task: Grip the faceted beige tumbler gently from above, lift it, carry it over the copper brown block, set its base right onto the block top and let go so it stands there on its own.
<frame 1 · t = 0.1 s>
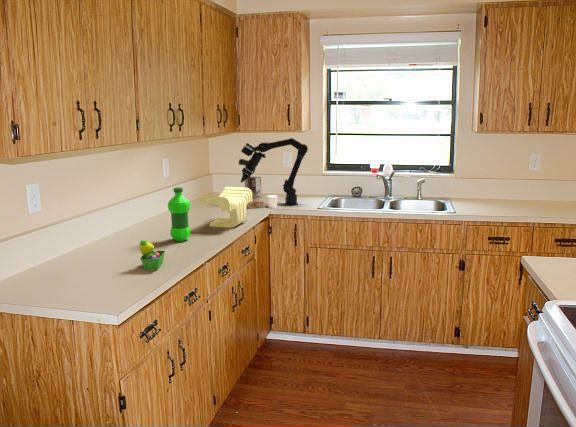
hand: (242, 181, 337), 15 cm above the worktop, tool tilted 30°, fingers open, 9 cm apart
plastic bottle: (180, 240, 254), on the worktop
copper brown block: (252, 207, 331), on the worktop
faceted beige tumbler: (272, 207, 331), on the worktop
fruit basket: (152, 267, 213), on the worktop
slatted curved stool: (228, 224, 285), on the worktop
coffee box: (253, 201, 350), on the worktop
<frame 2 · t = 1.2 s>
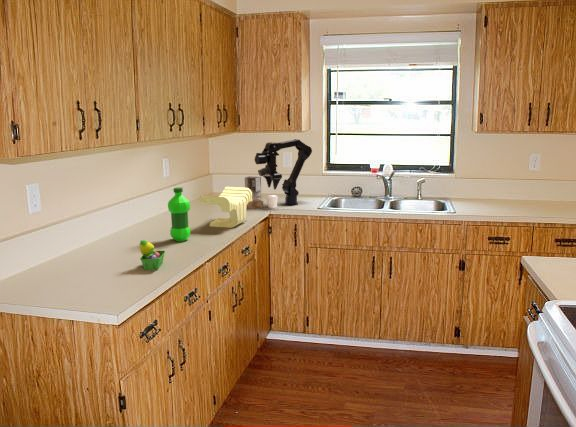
hand: (272, 188, 328), 12 cm above the worktop, tool pointing down, fingers open, 9 cm apart
nothing on the worktop moved.
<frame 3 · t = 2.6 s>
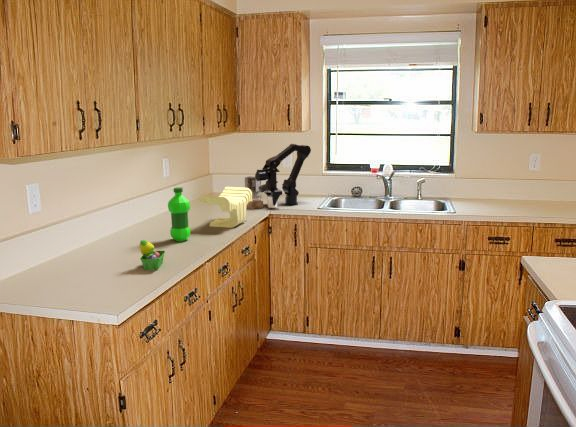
hand: (272, 204, 330), 2 cm above the worktop, tool pointing down, fingers closed on faceted beige tumbler, 6 cm apart
faceted beige tumbler: (272, 207, 331), on the worktop, touching gripper
everything else where it was.
when the fingers open (6 cm above the worktop, at t = 8.3 s): faceted beige tumbler stays where it is, resting on copper brown block.
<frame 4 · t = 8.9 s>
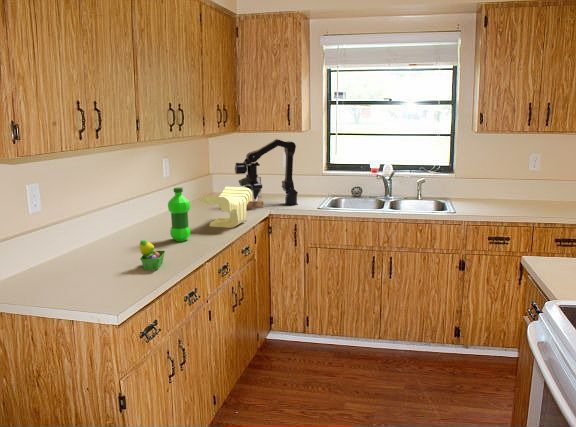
hand: (252, 198, 330), 6 cm above the worktop, tool pointing down, fingers open, 8 cm apart
faceted beige tumbler: (252, 201, 330), point 4 cm above the worktop, touching copper brown block
everything else where it was.
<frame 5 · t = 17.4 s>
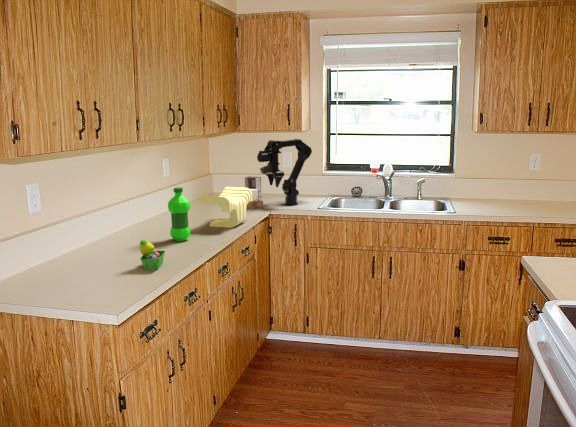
hand: (274, 186, 328), 13 cm above the worktop, tool pointing down, fingers open, 9 cm apart
nothing on the worktop moved.
at the end: faceted beige tumbler 0.1 cm off-centre on the copper brown block, point 3.8 cm above the copper brown block's base; faceted beige tumbler tilted 0°; the gripper is holding nothing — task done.
